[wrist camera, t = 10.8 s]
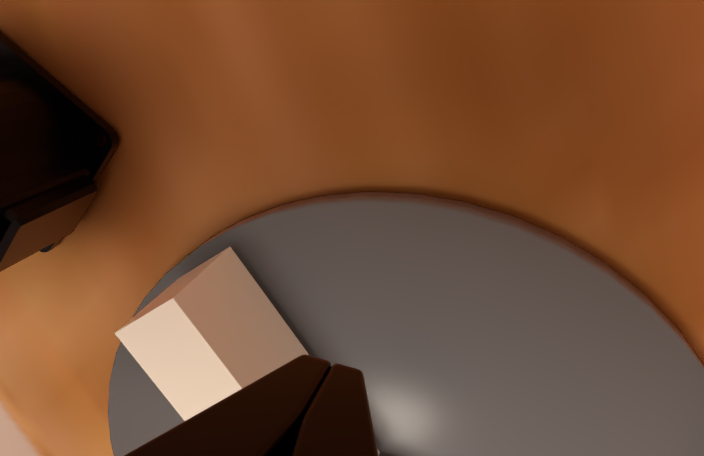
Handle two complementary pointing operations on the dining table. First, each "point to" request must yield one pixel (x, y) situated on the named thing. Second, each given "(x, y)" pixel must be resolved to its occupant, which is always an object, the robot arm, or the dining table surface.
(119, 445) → the round gray plate
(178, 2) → the dining table surface
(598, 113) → the dining table surface
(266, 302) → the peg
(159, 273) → the dining table surface
